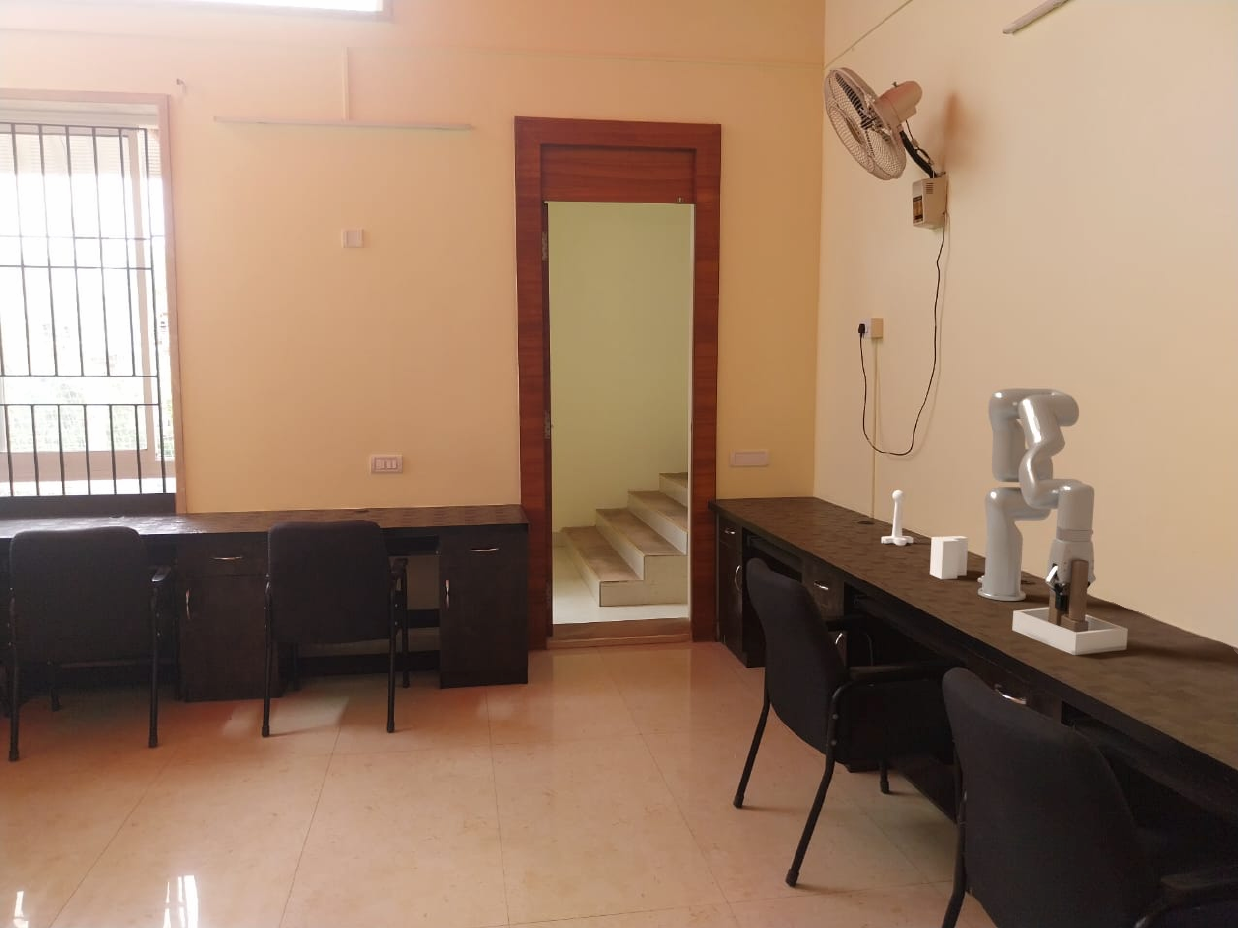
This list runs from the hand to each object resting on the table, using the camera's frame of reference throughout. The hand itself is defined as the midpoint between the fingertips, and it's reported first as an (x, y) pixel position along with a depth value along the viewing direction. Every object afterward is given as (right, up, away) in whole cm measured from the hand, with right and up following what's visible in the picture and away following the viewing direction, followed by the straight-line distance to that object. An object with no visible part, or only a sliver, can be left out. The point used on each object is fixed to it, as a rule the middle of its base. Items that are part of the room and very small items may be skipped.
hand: (1068, 608), depth 213 cm
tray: (0, -8, +1) cm, 8 cm away
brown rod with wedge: (0, -6, +1) cm, 6 cm away
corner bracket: (-5, 0, +67) cm, 67 cm away
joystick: (-5, +5, +113) cm, 114 cm away
